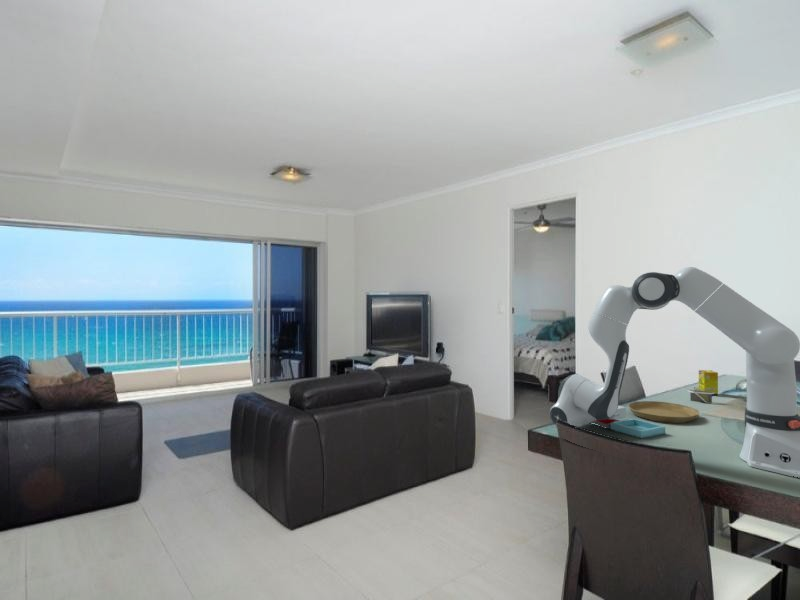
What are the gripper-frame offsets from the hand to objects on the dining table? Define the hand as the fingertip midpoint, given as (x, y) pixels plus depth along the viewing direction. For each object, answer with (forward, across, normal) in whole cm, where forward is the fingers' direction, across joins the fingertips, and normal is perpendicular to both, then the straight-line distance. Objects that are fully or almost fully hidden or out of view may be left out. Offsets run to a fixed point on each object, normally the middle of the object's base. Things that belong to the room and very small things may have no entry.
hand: (606, 404), depth 171 cm
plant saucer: (+28, -7, +8) cm, 30 cm away
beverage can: (-1, 0, +7) cm, 7 cm away
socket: (-1, 0, +7) cm, 7 cm away
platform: (+66, -6, +8) cm, 67 cm away
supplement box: (+86, -1, +7) cm, 87 cm away
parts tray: (-1, -12, +7) cm, 14 cm away
